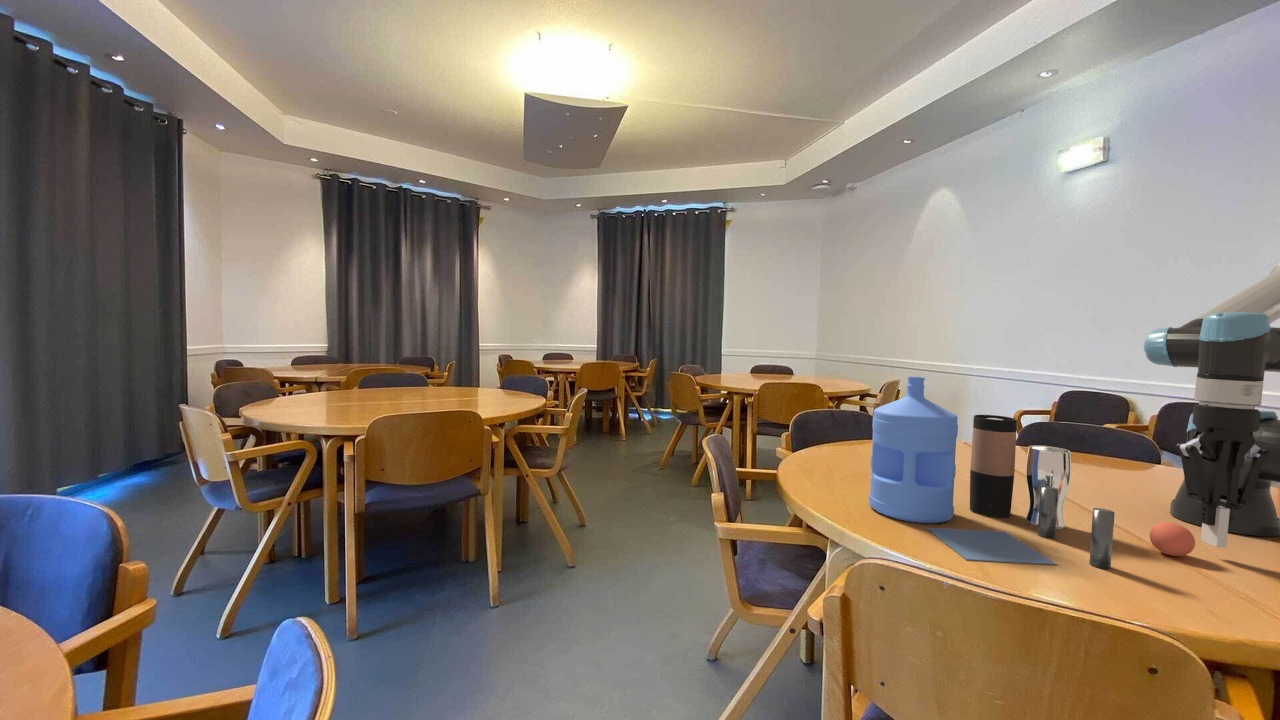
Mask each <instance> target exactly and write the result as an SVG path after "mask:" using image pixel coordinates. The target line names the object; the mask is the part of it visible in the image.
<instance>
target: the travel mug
mask: <svg viewBox="0 0 1280 720" xmlns="http://www.w3.org/2000/svg"><path fill="white" fill-rule="evenodd" d="M972 421H973V424H972V436H971V437H972V439H971V440H972V441H971V452H970V454H971V455H970V468H969V469H970V471H969V510H970V511H971V512H972V513H974V514H977V515H981V516H984V517H990V518H996V519H997V518H998V519H1006V518H1010V517H1011V512H1012V511H1011V510H1012V502H1013V493H1014V492H1013V491H1014V483H1015V482H1014V481H1015V470H1016V468H1015V467H1016V448H1017V446H1016V445H1017V425H1018V420H1016V418H1013V417H1010V416H1004V415H995V414H975V415H973V420H972Z"/></svg>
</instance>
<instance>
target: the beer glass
mask: <svg viewBox="0 0 1280 720" xmlns="http://www.w3.org/2000/svg"><path fill="white" fill-rule="evenodd" d="M1027 448H1028V449H1027V456H1026V462H1025V480H1026V486H1027V487H1026V488H1027V493H1028V508H1027V512H1026V514H1025V515H1026V516H1025V522H1026V523H1027V524H1029V525H1031V526H1034V527H1037V528H1038V519H1039V503H1040V487H1041V486H1049V487H1054V488H1057V489H1058V502H1057V518H1056V531H1057V530H1063V529H1064V528H1065V521H1064V513H1063V509H1064V503H1065V500H1066V497H1067V493H1068V490H1069V486H1070V481H1071V474H1072V473H1071V472H1072V471H1071V470H1072V469H1071V468H1072V461H1071V460H1072V459H1071V451H1070V450H1068V449H1066V448H1061V447H1056V446H1048V445H1035V444H1034V445H1029V446H1028V447H1027Z"/></svg>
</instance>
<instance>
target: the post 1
mask: <svg viewBox="0 0 1280 720" xmlns="http://www.w3.org/2000/svg"><path fill="white" fill-rule="evenodd" d="M1057 502H1058V489H1057V488H1054V487H1049V486H1041V487H1040V503H1039V519H1038V527H1037V536H1039V537H1041V538H1043V539H1044V538H1045V539H1051V540H1054V539H1056V533H1057V530H1056V518H1057Z"/></svg>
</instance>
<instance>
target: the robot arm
mask: <svg viewBox="0 0 1280 720" xmlns="http://www.w3.org/2000/svg"><path fill="white" fill-rule="evenodd" d="M1279 319H1280V263H1277V264H1276V265H1275V266H1274V267H1272V269H1271V270H1270V272H1269V274H1268V275H1267V276H1265V277H1264V278H1262V279H1260V280H1258V281H1257V282H1255V283H1253V284H1252V285H1251V286H1249V287H1247V288H1245V289H1243V290H1242V291H1240V292H1239V293H1236V294H1235V295H1233V296H1231V297H1229V298H1228V299H1226V300H1225V301H1223V302H1221V303H1219V304H1217V305H1216V306H1214V307H1212V308H1210V309H1209V310H1207V311H1206V312H1203V313H1202V314H1201V315H1199V316H1197V317H1195V318H1194V319H1192V320H1190V321H1189V322H1187V323H1185V324H1183V325H1182V326H1178V327H1172V326H1170V327H1163V328H1156V329H1154V330H1152V331H1151V332H1149V333H1148V335H1147V336H1146V338H1145V340H1144V343H1143V351H1144V353H1145V357H1146V358H1147V360H1148V361H1149V362H1150V363H1153V364H1154V365H1158V366H1166V367H1167V366H1169V367H1173V368H1178V367H1180V368H1183V367H1184V368H1197V373H1196V381H1195V389H1194V400H1195V401H1196V402H1198V403H1197V404H1196V403H1195V405H1193V411H1192V413H1191V414H1190V416H1189V418H1188V419H1189V420H1188V423H1187V429H1186V433H1187V434H1186V443H1182V442H1181V443H1180V442H1178V443H1177V444H1175V449H1176V451H1177V452H1178V454H1179V456H1180V459H1181V464H1182V471H1183V477H1184V478H1183V480H1182V483H1181V484H1180V486H1179V489H1178V490H1177V493H1176V495H1175V497H1174V499H1172V500H1171V502H1170V504H1169V506H1170V508H1169V514H1170V515H1171V516H1173V518H1176V519H1178V520H1181V521H1184V522H1187V523H1190V524H1193V525H1197V526H1201V533H1200V541H1201V542H1203V543H1206V544H1209V545H1211V546H1212V547H1213V546H1214V547H1216V548H1227V542H1228V533H1232V534H1233V533H1234V534H1239V535H1246V536H1254V537H1256V536H1257V537H1277V536H1280V518H1279V517H1278V513H1277V509H1276V505H1275V503H1274V499H1273V497H1272V493H1271V484H1272V482H1275V483H1279V484H1280V419H1279V416H1278V415H1277V413H1276V412H1275V411H1273V410H1259V409H1257V408H1256V407H1259V406H1261V405H1262V399H1263V388H1264V379H1265V373H1266V372H1271V373H1272V372H1273V373H1280V327H1272V326H1271V324H1272V323H1274V322H1276V321H1277V320H1279Z"/></svg>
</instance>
